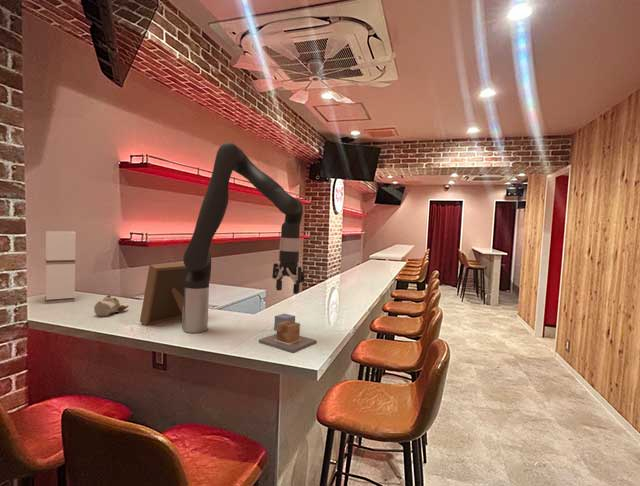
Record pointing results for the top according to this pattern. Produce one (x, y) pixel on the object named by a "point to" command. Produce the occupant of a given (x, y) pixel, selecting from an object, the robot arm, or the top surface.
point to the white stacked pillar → (60, 267)
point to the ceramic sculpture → (108, 306)
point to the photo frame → (164, 293)
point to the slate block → (283, 319)
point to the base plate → (289, 347)
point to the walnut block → (288, 331)
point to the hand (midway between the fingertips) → (287, 291)
